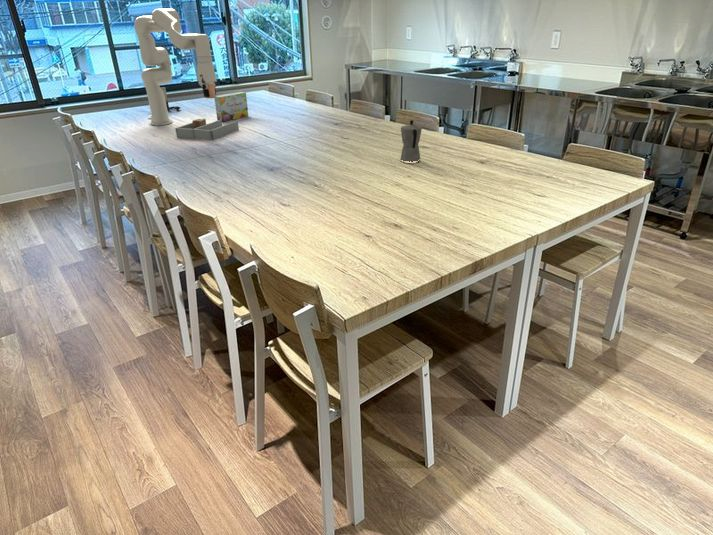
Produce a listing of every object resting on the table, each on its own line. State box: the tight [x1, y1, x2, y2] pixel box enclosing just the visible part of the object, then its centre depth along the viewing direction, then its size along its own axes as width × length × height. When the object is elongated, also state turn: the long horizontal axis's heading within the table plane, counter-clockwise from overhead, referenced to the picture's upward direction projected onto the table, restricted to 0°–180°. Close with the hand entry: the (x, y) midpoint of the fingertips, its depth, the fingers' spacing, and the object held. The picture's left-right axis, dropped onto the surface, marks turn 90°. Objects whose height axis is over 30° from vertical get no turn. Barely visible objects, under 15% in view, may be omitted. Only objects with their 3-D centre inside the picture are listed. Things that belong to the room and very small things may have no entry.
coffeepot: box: [399, 119, 423, 162], centre depth 215 cm, size 15×9×18 cm, turn 6°
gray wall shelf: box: [175, 118, 240, 141], centre depth 274 cm, size 23×26×5 cm
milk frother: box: [159, 86, 181, 112], centre depth 334 cm, size 14×16×15 cm
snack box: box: [213, 91, 249, 123], centre depth 306 cm, size 21×6×15 cm, turn 143°
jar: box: [204, 82, 217, 99], centre depth 264 cm, size 6×6×8 cm
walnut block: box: [191, 118, 207, 129], centre depth 276 cm, size 5×5×7 cm
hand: (210, 95), depth 265 cm, fingers closed on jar, 5 cm apart
